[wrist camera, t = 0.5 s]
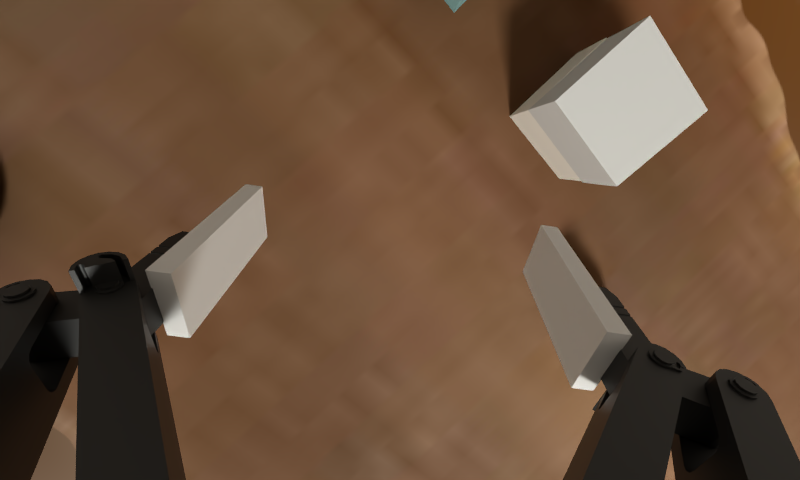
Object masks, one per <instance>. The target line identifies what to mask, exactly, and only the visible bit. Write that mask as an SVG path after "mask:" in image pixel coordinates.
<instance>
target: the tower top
mask: <svg viewBox="0 0 800 480" xmlns="http://www.w3.org/2000/svg"><path fill="white" fill-rule="evenodd" d="M528 111H529V112H530V113H531V115H532V116H533V117H534V119H535V120H536V121H537V123H538V124H539V125H540V127H541V128H542V129H543V131H544V132H545V133H546V135H547V136H548V137H549V139H550V140H551V141H552V143H553V144H554V145H555V147H556V148H557V149H558V151H559V152H560V153H561V155H562V156H563V157H564V159H565V160H566V161H567V163H568V164H569V165H570V167H571V168H572V169H573V171H574V172H575V173H576V175H577V176H578V177H579V179H580V180H581V181H582V182H583V183H592V184H600V185H609V186H618V185H619V184H620V183H622V182H623V181H624V180H625V179H626V178H628V177H629V176H630V175H631V174H632V173H634V172H635V171H636V170H637V169H638V168H639V167H641V166H642V165H643V164H644V163H645V162H647V161H648V160H649V159H650V158H651V157H653V156H654V155H655V154H656V153H657V152H659V151H660V150H661V149H662V148H663V147H665V146H666V145H667V144H668V143H669V142H671V141H672V140H673V139H674V138H675V137H677V136H678V135H679V134H680V133H681V132H682V131H684V130H685V129H686V128H687V127H688V126H690V125H691V124H692V123H693V122H694V121H696V120H697V119H698V118H699V117H700V116H702V115H703V114H704V113H705V112H706V111H708V110H707V108H706V106H705V105H704V103H703V101H702V100H701V98H700V97H699V95H698V93H697V92H696V90H695V88H694V87H693V85H692V83H691V82H690V80H689V79H688V77H687V75H686V74H685V72H684V70H683V69H682V67H681V65H680V64H679V62H678V60H677V59H676V57H675V56H674V54H673V52H672V51H671V49H670V47H669V46H668V44H667V42H666V41H665V39H664V38H663V36H662V34H661V33H660V31H659V29H658V28H657V26H656V24H655V23H654V21H653V20H652V18H651V16H648V17H646V18H645V19H643V20H641V21H639V22H637V23H635V24H633V25H631V26H630V27H628V28H626V29H624V30H622V31H620V32H618V33H616V34H615V35H613V36H611V37H609V38H607V39H606V40H605V41H604V42H603V43H601V44H600V45H599V46H598V47H597V48H596V49H595V50H594V51H593V52H592V53H590V54H589V55H588V56H587V57H586V58H585V59H584V60H583V61H582V62H580V63H579V64H578V65H577V66H576V67H575V68H574V69H573V70H572V71H571V72H569V73H568V74H567V75H566V76H565V77H564V78H563V79H562V80H561V81H560V82H558V83H557V84H556V85H555V86H554V87H553V88H552V89H551V90H550V91H549V92H547V93H546V94H545V95H544V96H543V97H542V98H541V99H540V100H539V101H537V102H536V103H535V104H534V105H533V106H532V107H531V108H530V109H529V110H528Z"/></svg>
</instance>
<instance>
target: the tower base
mask: <svg viewBox="0 0 800 480" xmlns="http://www.w3.org/2000/svg"><path fill="white" fill-rule="evenodd" d="M606 39H607V37H606V38H604V39H602V40H600V41H599V42H597V43H595V44H593V45H591V46H589V47H588V48H586V49H584V50H582V51H580V52H578V53H577V54H575V55H574V56H573V57H572V58H571V59H570V60H569V61H568V62H567V63H566V64H565V65H564V66H563V67H562V68H560V69H559V70H558V71H557V72H556V73H555V74H554V75H553V76H552V77H551V78H550V79H549V80H548V81H547V82H546V83H545V84H543V85H542V86H541V87H540V88H539V89H538V90H537V91H536V92H535V93H534V94H533V95H532V96H531V97H530V98H529V99H527V100H526V101H525V102H524V103H523V104H522V105H521V106H520V107H519V108H518V109H517V110H516V111H515V112H514V113H513V114H511V115H510V117H511V119H512V120H513V121H514V123H515V124H516V125H517V126H518V128H519V129H520V130H521V131H522V133H523V134H524V135H525V136H526V138H527V139H528V140H529V141H530V143H531V144H532V145H533V146H534V148H535V149H536V150H537V151H538V153H539V154H540V155H541V156H542V158H543V159H544V160H545V161H546V163H547V164H548V165H549V166H550V168H551V169H552V170H553V171H554V173H555V174H556V175H557V176H558V178H559V179H568V180H577V181H581V180H580V179H579V177H578V176H577V175H576V173H575V172H574V171H573V169H572V168H571V167H570V165H569V164H568V163H567V161H566V160H565V159H564V157H563V156H562V155H561V153H560V152H559V151H558V149H557V148H556V147H555V145H554V144H553V143H552V141H551V140H550V139H549V137H548V136H547V135H546V133H545V132H544V131H543V129H542V128H541V127H540V125H539V124H538V123H537V121H536V120H535V119H534V117H533V116H532V115H531V113H530V112H529V111H528V110H529V109H530V108H531V107H532V106H533V105H534V104H535V103H536V102H537V101H539V100H540V99H541V98H542V97H543V96H544V95H545V94H546V93H547V92H549V91H550V90H551V89H552V88H553V87H554V86H555V85H556V84H557V83H558V82H560V81H561V80H562V79H563V78H564V77H565V76H566V75H567V74H568V73H569V72H571V71H572V70H573V69H574V68H575V67H576V66H577V65H578V64H579V63H580V62H582V61H583V60H584V59H585V58H586V57H587V56H588V55H589V54H590V53H592V52H593V51H594V50H595V49H596V48H597V47H598V46H599V45H600V44H601V43H603V42H604V41H605V40H606Z"/></svg>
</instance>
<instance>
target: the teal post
mask: <svg viewBox="0 0 800 480" xmlns="http://www.w3.org/2000/svg"><path fill="white" fill-rule="evenodd" d="M465 1H466V0H445V2H446V3H447V4H448V5H449V7H450V8H451V9H452V11H453V12H455V11H456V10H457V9H458V8H459V7H460V6H461V5H462V4H463V3H464V2H465Z"/></svg>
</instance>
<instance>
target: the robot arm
mask: <svg viewBox="0 0 800 480" xmlns="http://www.w3.org/2000/svg"><path fill="white" fill-rule="evenodd" d="M266 238H267V229H266V219H265V209H264V199H263V189H262V186H255V185H247V184H246V185H244V186H243V187H242V188H241V189H240V190H239V191H237V192H236V193H235V194H234V195H233V196H231V197H230V198H229V199H228V200H227V201H226V202H224V203H223V204H222V205H221V206H220V207H219V208H217V209H216V210H215V211H214V212H213V213H211V214H210V215H209V216H208V217H207V218H206V219H204V220H203V221H202V222H201V223H200V224H199V225H197V226H196V227H195V228H194V229H193V230H192V231H190V232H184V231H182V232H180V233H178V234H175V235H173V236H171V237H169V238H167V239H166V240H165V241H164V242H163V243H161V244H160V245H159V247H156V248H155V249H154V250H153V251H151V253H149V254H148V255H146V256H145V257H144V258H143V259H141V260H140V261H139V262H138V263H136V264H135V265H134V266H133V267H131V266H130V263H129V260H128V258H127V257H126V255H125V254H122V253H119V252H103V253H97V254H93V255H90V256H87V257H85V258H82V259H80V260H78V261H77V262H75V263H74V264H73V265H72V266H71V267H70V269H69V273H70V275H71V277H72V279H73V281H74V283H75V285H76V287H77V290H78V291H65V292H54V290H53V288H52V286H51V285H50V284H49V283H48V281H44V280H40V279H37V280H25V281H19V282H15V283H12V284H9V285H6V286H4V287H2V288H0V480H30V479H31V477H32V475H33V472H34V470H35V468H36V465H37V463H38V460H39V458H40V455H41V453H42V451H43V448H44V446H45V443H46V441H47V438H48V436H49V434H50V431H51V428H52V426H53V424H54V421H55V419H56V417H57V414H58V412H59V409H60V407H61V404H62V402H63V400H64V397H65V395H66V392H67V390H68V387H69V385H70V383H71V380H72V378H73V375H74V373H75V370H76V368H77V365H78V393H77V440H76V480H186V478H185V473H184V468H183V463H182V458H181V453H180V448H179V443H178V438H177V433H176V428H175V423H174V418H173V413H172V408H171V403H170V398H169V393H168V388H167V383H166V378H165V373H164V368H163V363H162V358H161V353H160V348H159V344H158V339H157V336H156V333H155V331H156V330H157V329H158V328H159V327H160V326H161V324H162V323H163V324H164V327H165V330H166V332H167V335H171V336H179V337H186V338H190V337H191V336H192V335H193V334H194V332H195V331H196V330H197V328H198V327H199V326H200V324H201V323H202V322H203V320H204V319H205V318H206V317H207V315H208V314H209V313H210V311H211V310H212V309H213V307H214V306H215V305H216V303H217V302H218V301H219V299H220V298H221V297H222V296H223V294H224V293H225V292H226V290H227V289H228V288H229V286H230V285H231V284H232V282H233V281H234V280H235V279H236V277H237V276H238V275H239V273H240V272H241V271H242V269H243V268H244V267H245V265H246V264H247V263H248V262H249V260H250V259H251V258H252V256H253V255H254V254H255V252H256V251H257V250H258V248H259V247H260V246H261V245H262V243H263V242H264V241H265V239H266ZM523 273H524V276H525V278H526V281H527V283H528V285H529V288H530V290H531V293H532V295H533V297H534V300H535V302H536V304H537V307H538V309H539V312H540V314H541V316H542V319H543V321H544V324H545V326H546V328H547V331H548V333H549V335H550V338H551V340H552V343H553V345H554V347H555V350H556V352H557V355H558V357H559V359H560V362H561V364H562V366H563V369H564V371H565V374H566V376H567V378H568V381H569V383H570V386H571V388H577V389H585V390H592V391H593V390H594V389H595V387H596V386H597V385H598V383H599V382H600V380H602V382H603V384H604V385H605V387H606V389H607V390H606V391H605V393H604V394H603V395H602V397H601V398H600V399H599V401H598V402H597V404H596V405H595V406H594V408H593V410H594V411H595V412H594V414H593V416H592V419H591V421H590V423H589V425H588V427H587V429H586V431H585V433H584V436H583V438H582V440H581V442H580V444H579V446H578V448H577V451H576V453H575V455H574V457H573V459H572V461H571V463H570V466H569V468H568V470H567V472H566V474H565V476H564V478H563V480H664V479H665V474H666V470H667V465H668V460H669V456H670V451H672V458H673V465H674V472H675V479H676V480H800V461H799V459H798V457H797V454H796V452H795V450H794V448H793V446H792V443H791V441H790V439H789V437H788V435H787V433H786V430H785V428H784V426H783V424H782V422H781V419H780V417H779V415H778V413H777V411H776V409H775V406H774V404H773V402H772V400H771V399H770V397H769V396H768V394H767V393H766V392H765V391H764V390H763V389H762V388H761V387H760V386H759V385H758V384H757V383H755V382H754V381H752V380H751V379H749V378H748V377H746V376H743V375H741V374H739V373H737V372H734V371H731V370H728V369H719V370H718V371H716V372H715V373H714V374H713V375H712V376H711V377H710V378H709V377H707V376H704V375H701V374H698V373H695V372H693V371H690V370H687V369H686V367H685V366H684V364H683V363H682V361H681V360H680V359H679V358H678V357H677V356H676V355H674V354H673V353H671V352H670V351H668V350H667V349H665V348H663V347H661V346H658V345H656V344H651V343H650V341H649V340H648V339H647V337H646V336H645V334H644V333H643V332H642V330H641V329H640V328H639V326H638V325H637V324H636V322H635V321H634V320H633V318H632V317H630V314H629V313H628V311H627V310H626V309H624V306H623V305H622V303H621V302H620V301H619V299H618V298H617V297H616V296H615V295H614V294H613V293H611V292H610V291H609V290H608V289H606V288H603V287H598V285H597V284H596V282H595V281H594V280H593V278H592V277H591V275H590V274H589V272H588V271H587V269H586V268H585V267H584V265H583V264H582V262H581V261H580V259H579V258H578V256H577V255H576V254H575V252H574V251H573V249H572V248H571V246H570V245H569V243H568V242H567V241H566V239H565V238H564V236H563V235H562V233H561V232H560V230H559V229H558V228H557V227H552V226H544V225H541V227H540V229H539V232H538V234H537V237H536V239H535V242H534V245H533V247H532V250H531V252H530V255H529V257H528V260H527V262H526V265H525V267H524V270H523Z"/></svg>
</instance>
